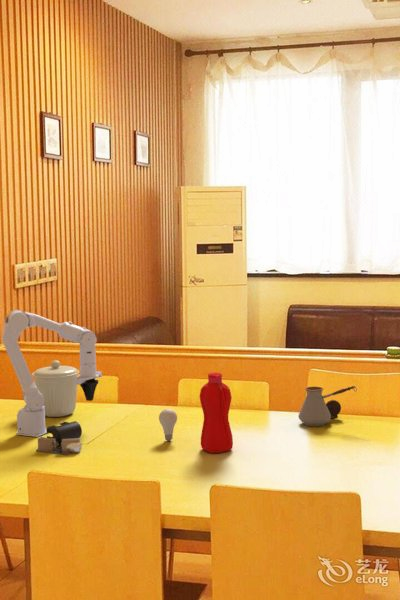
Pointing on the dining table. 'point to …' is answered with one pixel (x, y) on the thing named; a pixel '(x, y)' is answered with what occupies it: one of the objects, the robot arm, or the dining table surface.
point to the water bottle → (216, 415)
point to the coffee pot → (316, 406)
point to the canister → (57, 388)
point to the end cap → (65, 431)
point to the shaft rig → (51, 444)
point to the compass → (333, 408)
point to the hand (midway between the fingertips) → (89, 400)
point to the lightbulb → (168, 422)
